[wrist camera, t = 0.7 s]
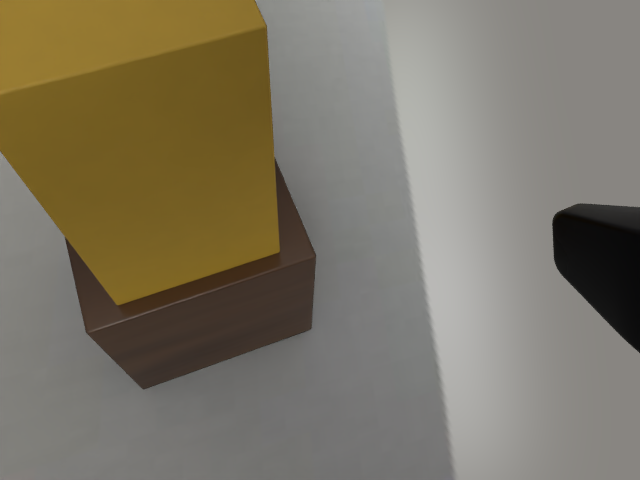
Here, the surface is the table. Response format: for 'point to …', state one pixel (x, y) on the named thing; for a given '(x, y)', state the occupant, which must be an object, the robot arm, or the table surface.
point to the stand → (206, 308)
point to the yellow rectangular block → (143, 133)
